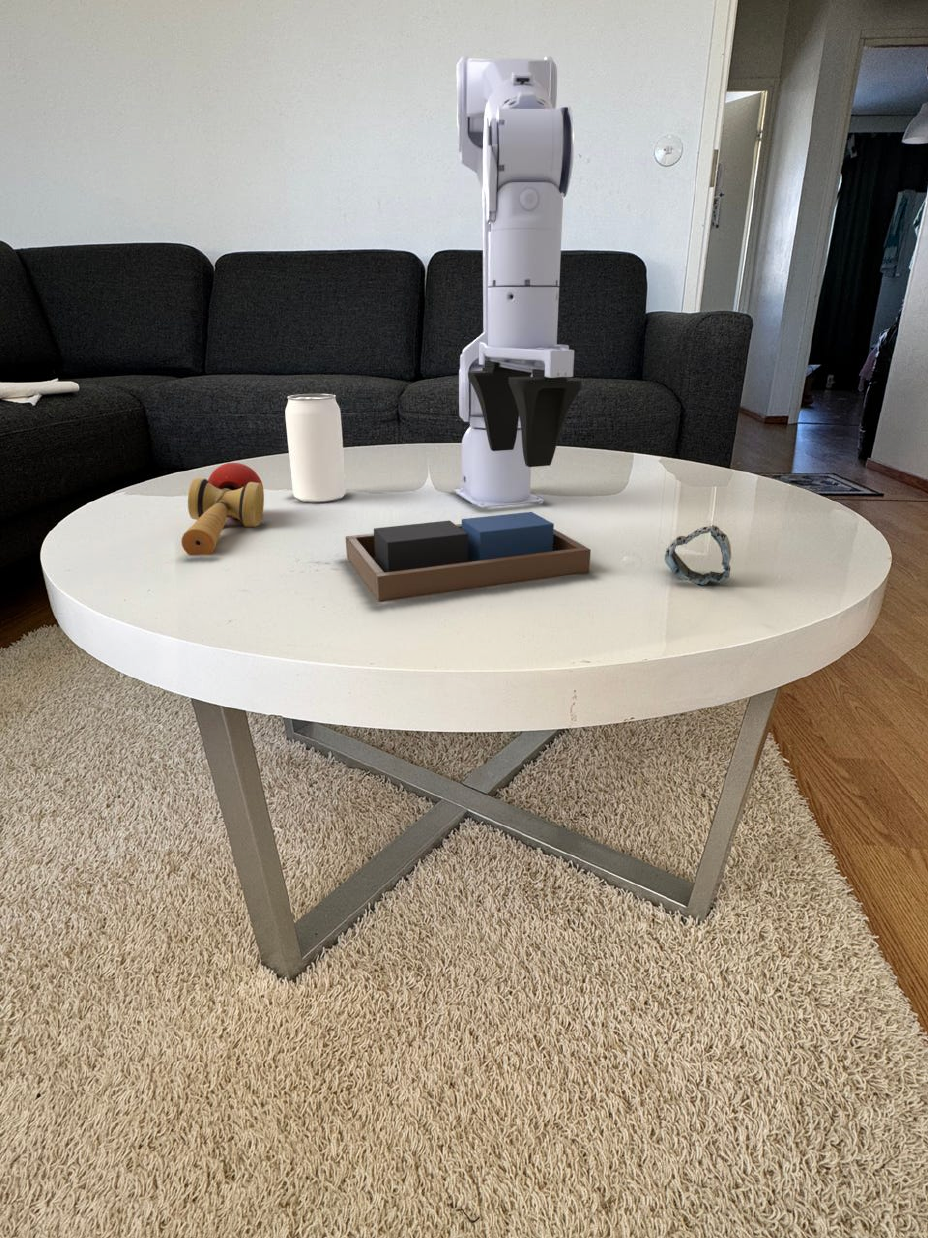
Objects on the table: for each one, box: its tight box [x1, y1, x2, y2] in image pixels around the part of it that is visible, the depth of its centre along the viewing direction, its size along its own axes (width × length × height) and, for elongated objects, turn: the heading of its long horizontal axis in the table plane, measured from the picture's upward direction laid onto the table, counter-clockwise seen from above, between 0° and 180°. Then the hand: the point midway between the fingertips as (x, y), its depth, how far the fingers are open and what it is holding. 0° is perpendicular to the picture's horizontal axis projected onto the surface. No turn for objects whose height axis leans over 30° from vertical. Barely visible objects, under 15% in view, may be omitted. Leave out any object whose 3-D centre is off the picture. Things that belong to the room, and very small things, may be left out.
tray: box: [345, 523, 592, 603], centre depth 63 cm, size 12×19×2 cm, turn 111°
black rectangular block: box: [373, 520, 468, 573], centre depth 62 cm, size 4×7×4 cm, turn 111°
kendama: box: [180, 462, 265, 556], centre depth 74 cm, size 8×6×18 cm
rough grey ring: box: [664, 524, 732, 586], centre depth 60 cm, size 3×5×5 cm
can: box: [284, 393, 347, 504], centre depth 87 cm, size 6×6×12 cm
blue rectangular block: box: [461, 511, 555, 562], centre depth 64 cm, size 4×7×4 cm, turn 111°
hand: (519, 457), depth 63 cm, fingers open, 7 cm apart
